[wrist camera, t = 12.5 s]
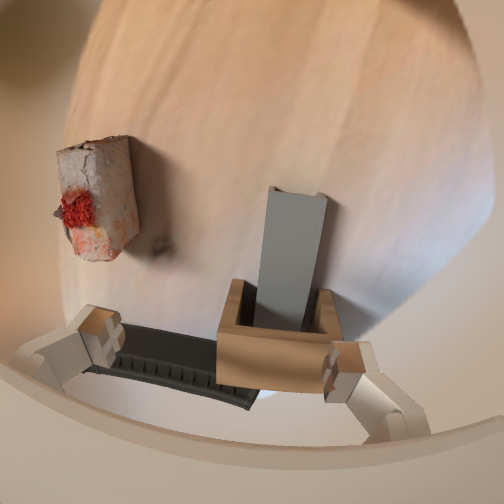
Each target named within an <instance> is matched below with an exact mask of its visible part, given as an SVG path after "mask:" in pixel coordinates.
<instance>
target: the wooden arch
mask: <svg viewBox="0 0 504 504" xmlns="http://www.w3.org/2000/svg"><path fill="white" fill-rule="evenodd" d="M243 290H244V280H239V279H232V282H231V286H230V289H229V293H228V296H227V300H226V303H225V307H224V310H223V313H222V317H221V320H220V324H219V327H218V331H217V362H216V384H222V385H229V386H236V387H243V388H252V389H261V390H271V391H283V392H297V393H298V392H299V393H318V394H324V390H323V388H324V386H325V384H326V383H325V382H324V381H323V380H322V366H323V361H324V358H325V356H326V355H328V354H329V352H328V347H329V344H330V342H331V341H344V339H343V335H342V331H341V327H340V324H339V320H338V316H337V313H336V309H335V305H334V302H333V298H332V295H331V291H330V290H328V289H319V290H318V294H317V298H316V302H315V306H314V310H313V314H312V318H311V322H310V326H309V330H308V333H305V332H294V331H284V330H274V329H265V328H256V327H248V326H240V324H241V313H242V302H243Z"/></svg>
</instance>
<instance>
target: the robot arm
mask: <svg viewBox="0 0 504 504" xmlns="http://www.w3.org/2000/svg"><path fill="white" fill-rule="evenodd" d="M121 320H122V319H121V316H120V313H119V312H117V311H113V310H109V309H105V308H102V307H97V306H93V305H90V304H88V305H85V306H84V307H83V308H82V310H81V311H80V312H79V313H78V314H77V315H76V317H75V318H74V319H73V320H72V321H71V323H70V324H69V325H68V326H67V327H65V326H64V327H62V328H59V329H57V330H55V331H52V332H50V333H48V334H46V335H43V336H41V337H39V338H36V339H34V340H32V341H30V342H27V343H25V344H23V345H22V346H21V347H20V348H19V349H18V351H17V352H16V353H15V354H14V355H13V357H12V358H11V359H10V360H9V362H8V363H6V362H5V361H3V360H2V359H0V504H504V416H501V415H499V416H494V417H491V418H489V419H486V420H483V421H480V422H476V423H473V424H470V425H467V426H463V427H460V428H456V429H452V430H448V431H445V432H440V433H436V434H431V431H430V428H429V424H428V422H427V418H426V415H425V412H424V409H423V408H422V407H421V406H420V405H419V404H418V403H417V402H415V401H414V400H413V399H412V398H411V397H410V396H409V395H408V394H407V393H405V392H404V391H403V390H402V389H401V388H400V387H399V386H398V385H396V384H395V383H394V382H393V381H392V380H391V379H390V378H388V377H387V376H386V375H385V374H384V373H380V371H379V368H378V365H377V362H376V359H375V355H374V352H373V349H372V346H371V344H370V342H358V341H357V342H353V341H331V342H330V344H329V347H328V352H329V354H328V355H326V356H325V358H324V361H323V366H322V380H323V381H324V382H325V383H326V384H325V386H324V388H323V390H324V399H325V403H346V405H347V406H348V408H349V409H350V410H351V411H352V413H353V414H354V415H355V416H356V418H357V419H358V420H359V422H360V423H361V424H362V426H363V427H364V428H365V430H366V431H367V432H368V433H369V435H370V436H369V437H368V439H367V440H366V441H365V442H364V443H363V444H362V445H351V446H330V447H298V446H275V445H261V444H251V443H242V442H234V441H227V440H220V439H214V438H208V437H203V436H197V435H191V434H187V433H182V432H178V431H173V430H169V429H165V428H161V427H158V426H154V425H150V424H146V423H143V422H139V421H136V420H133V419H130V418H127V417H123V416H121V415H118V414H114V413H112V412H109V411H106V410H103V409H101V408H98V407H95V406H93V405H90V404H88V403H85V402H83V401H80V400H78V399H76V398H73V397H71V396H69V395H67V394H66V393H65V391H64V390H63V388H62V387H61V386H62V385H63V384H65V383H66V382H68V381H69V380H71V379H72V378H74V377H75V376H77V375H78V374H80V373H81V372H83V371H84V370H86V369H87V368H88V367H90V366H91V365H93V364H95V365H99V366H102V367H105V368H109V369H110V367H111V365H112V364H113V362H114V360H115V359H116V354H115V352H117V351H119V350H121V348H122V346H123V345H124V340H125V331H124V328H123V327H122V325H121V324H120V321H121Z"/></svg>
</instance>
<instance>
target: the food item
mask: <svg viewBox="0 0 504 504" xmlns="http://www.w3.org/2000/svg"><path fill="white" fill-rule="evenodd" d="M110 137H112V138H109V137H107V138H104V139H102V140H94V141H85V142H84V143H81V144H78V145H75V146H72V147H68V148H65V149H62V150H60V151H57V152H56V154H57V161H58V173H59V180H60V187H61V194H62V199H61V201H62V204H63V209H64V211H63V209H62V205H60V206H59V208H58V210H56V211H55V212H54V213H55V214H54V213H53V215H54V216H56V217H59V219H62V223H63V227H64V231H65V234H66V236H67V238H68V239H69V241H70V242H71V244H72V245H73V248H74V252H75V254H76V255H77V256H79V257H80V258H83V259H84V260H87V261H90V262H97V261H105V262H108V261H112V260H114V259H115V258H116V257H117V256H118V255H119V254H120V253H121V252H122V251H121V250H122V249H123V248H124V247H125V246H126V245H127V244H128V243H129V242H131V240H132V239H133V237H134V236H136V235H137V234H138V233H139V232H140V223H139V216H138V210H137V204H136V199H135V191H134V184H133V176H132V167H131V160H130V151H129V142H128V136H127V135H123V136H120V135H119V136H116V137H114V136H110ZM60 216H61V217H60Z"/></svg>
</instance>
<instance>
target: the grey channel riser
mask: <svg viewBox="0 0 504 504" xmlns="http://www.w3.org/2000/svg"><path fill="white" fill-rule="evenodd" d="M326 205H327V198H326V197H325V195H324V194H323V193H320V192H318V193H317V196H310V195H303V194H295V193H287V192H279V191H275V187H274V186H269V192H268V201H267V210H266V219H265V227H264V236H263V245H262V254H261V262H260V271H259V279H258V288H257V296H256V305H255V313H254V321H253V327H256V328H265V329H274V330H284V331H294V332H300V330H301V325H302V321H303V317H304V313H305V309H306V305H307V300H308V296H309V291H310V287H311V282H312V278H313V273H314V268H315V263H316V258H317V253H318V248H319V243H320V238H321V233H322V227H323V222H324V216H325V211H326Z"/></svg>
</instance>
